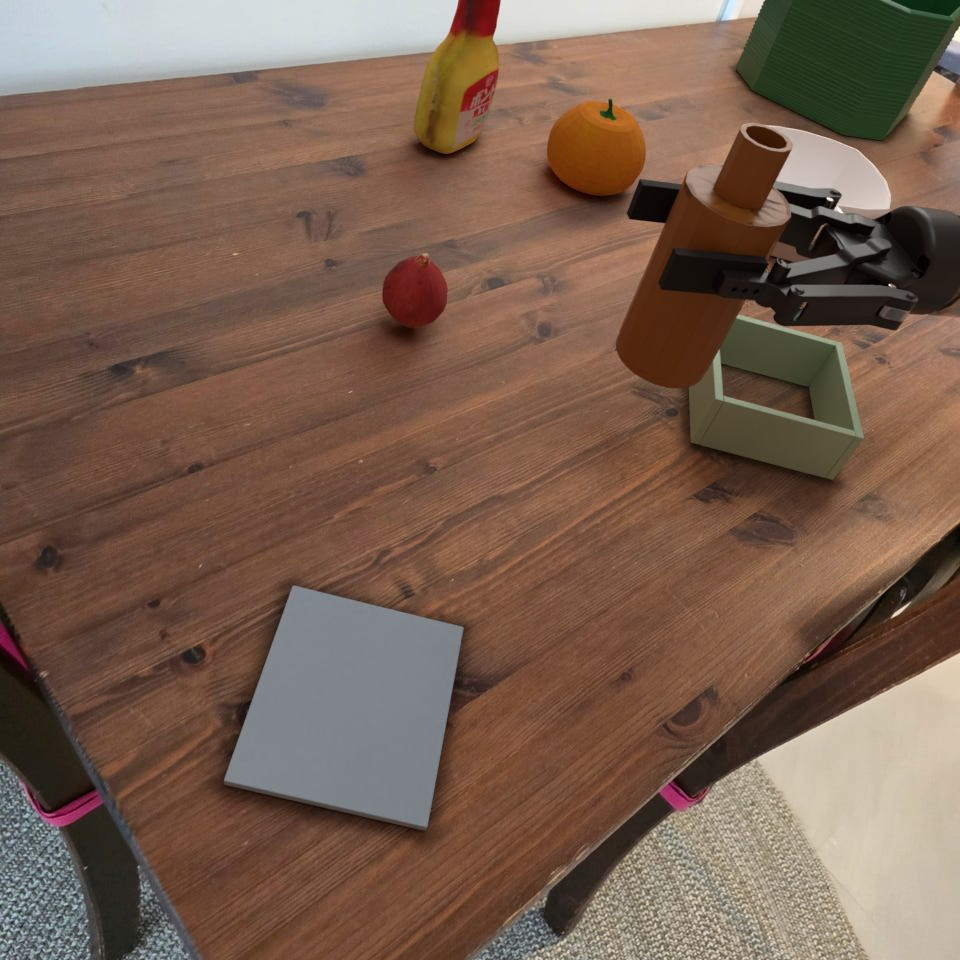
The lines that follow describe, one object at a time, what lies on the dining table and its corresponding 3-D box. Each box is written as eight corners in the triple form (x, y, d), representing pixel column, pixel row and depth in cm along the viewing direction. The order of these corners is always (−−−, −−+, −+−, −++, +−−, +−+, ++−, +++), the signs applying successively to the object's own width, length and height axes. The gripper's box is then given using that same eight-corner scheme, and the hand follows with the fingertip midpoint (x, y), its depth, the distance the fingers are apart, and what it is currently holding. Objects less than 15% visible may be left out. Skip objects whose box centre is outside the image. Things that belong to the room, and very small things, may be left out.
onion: (366, 328, 80) (377, 255, 74) (394, 297, 84) (407, 225, 78) (423, 355, 80) (439, 282, 74) (449, 322, 83) (466, 251, 78)
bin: (832, 480, 80) (864, 439, 76) (690, 442, 80) (715, 399, 76) (814, 384, 90) (842, 342, 86) (687, 349, 89) (709, 306, 85)
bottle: (461, 117, 111) (498, -57, 96) (500, 141, 109) (544, -33, 94) (397, 141, 103) (427, -44, 89) (438, 167, 102) (475, -17, 87)
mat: (425, 831, 52) (427, 827, 51) (223, 784, 51) (223, 780, 50) (462, 631, 61) (464, 626, 61) (292, 589, 60) (292, 584, 60)
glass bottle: (717, 391, 67) (840, 175, 53) (629, 386, 65) (734, 160, 52) (688, 328, 71) (795, 115, 58) (605, 322, 69) (696, 100, 56)
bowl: (725, 262, 102) (762, 189, 95) (703, 182, 114) (734, 112, 107) (866, 292, 104) (912, 223, 97) (830, 211, 116) (868, 144, 109)
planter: (778, 41, 155) (830, -74, 142) (915, 105, 149) (983, -8, 136) (722, 76, 139) (775, -50, 126) (874, 151, 132) (946, 26, 119)
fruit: (543, 197, 102) (568, 115, 95) (536, 146, 110) (558, 66, 103) (639, 215, 105) (670, 136, 97) (625, 164, 112) (653, 87, 105)
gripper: (973, 396, 61) (673, 377, 55) (851, 228, 74) (596, 198, 68) (1047, 310, 56) (723, 279, 50) (901, 145, 69) (629, 104, 63)
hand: (650, 232), depth 59 cm, fingers closed on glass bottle, 7 cm apart
